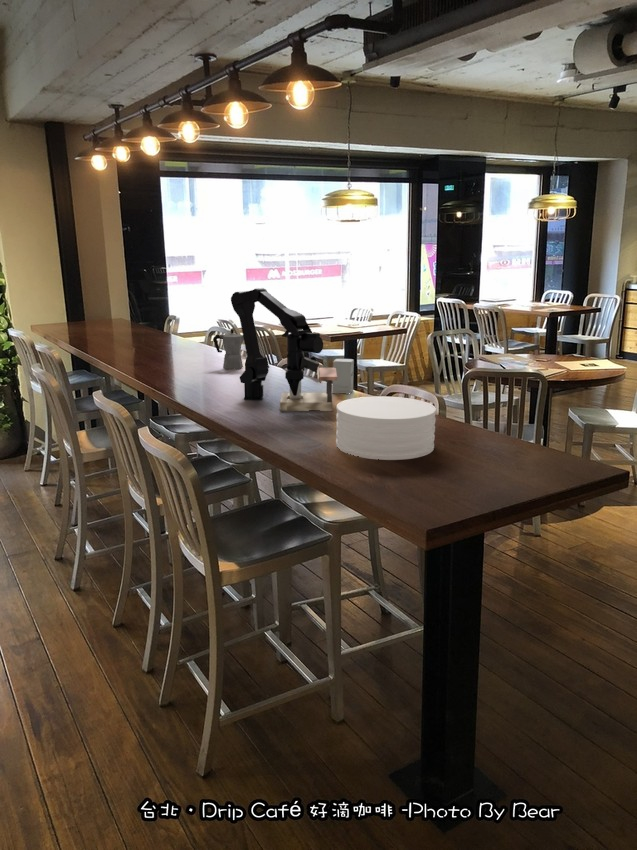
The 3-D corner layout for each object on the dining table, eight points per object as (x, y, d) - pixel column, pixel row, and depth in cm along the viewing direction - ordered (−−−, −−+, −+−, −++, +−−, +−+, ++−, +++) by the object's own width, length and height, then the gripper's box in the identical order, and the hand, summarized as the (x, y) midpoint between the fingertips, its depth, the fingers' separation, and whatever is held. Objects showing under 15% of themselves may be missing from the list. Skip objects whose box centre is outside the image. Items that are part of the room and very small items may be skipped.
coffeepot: (246, 365, 322) (245, 327, 317) (248, 369, 313) (247, 330, 308) (213, 366, 319) (211, 328, 314) (214, 370, 310) (213, 330, 305)
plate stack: (318, 440, 201) (318, 402, 198) (395, 428, 214) (397, 392, 211) (371, 466, 177) (372, 423, 174) (454, 451, 190) (456, 411, 188)
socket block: (280, 411, 234) (279, 376, 231) (282, 399, 251) (282, 367, 248) (336, 411, 234) (337, 376, 231) (335, 400, 251) (335, 367, 248)
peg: (289, 402, 240) (289, 377, 238) (290, 399, 244) (290, 375, 242) (301, 402, 240) (301, 377, 238) (301, 400, 244) (301, 375, 242)
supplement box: (350, 394, 262) (351, 361, 259) (331, 393, 263) (332, 361, 260) (353, 390, 269) (354, 358, 266) (335, 389, 270) (335, 358, 267)
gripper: (318, 355, 229) (317, 400, 233) (318, 346, 247) (317, 389, 251) (285, 354, 229) (285, 400, 233) (287, 346, 247) (287, 388, 251)
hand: (295, 394), depth 242 cm, fingers closed on peg, 4 cm apart
